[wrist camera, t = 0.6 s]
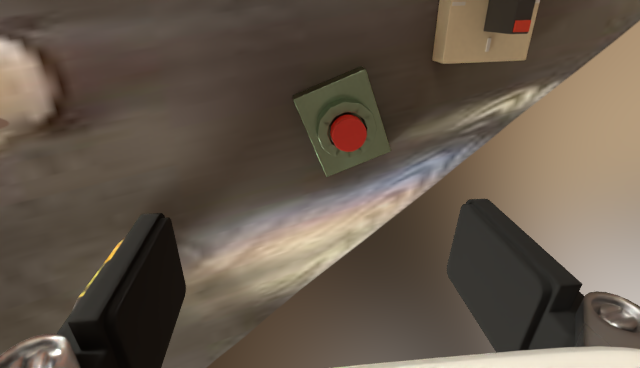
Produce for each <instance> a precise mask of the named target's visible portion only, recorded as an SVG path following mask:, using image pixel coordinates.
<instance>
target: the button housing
mask: <svg viewBox="0 0 640 368" xmlns="http://www.w3.org/2000/svg"><path fill="white" fill-rule="evenodd" d="M293 101H294V103H295V105H296V108H297V110H298V112H299V115H300V117H301V119H302V122H303V124H304V126H305V128H306V131H307V133H308V135H309V138H310V140H311V142H312V145H313V147H314V149H315V152H316V154H317V156H318V158H319V161H320V163H321V165H322V168H323V170H324V172H325V175H326V177H328V176H331V175H333V174H336V173H338V172H341V171H343V170H346V169H348V168H351V167H353V166H356V165H358V164H361V163H363V162H366V161H368V160H371V159H373V158H375V157H378V156H380V155H383V154H385V153H388V152H390V151H391V149H390V146H389V142H388V139H387V136H386V133H385V129H384V126H383V123H382V120H381V117H380V113H379V110H378V107H377V104H376V100H375V97H374V94H373V91H372V88H371V84H370V81H369V78H368V75H367V71H366V69H365V68H363V67H362V66H361V67H358V68H356V69H353V70H351V71H349V72H346V73H344V74H342V75H339V76H337V77H335V78H332V79H330V80H328V81H325V82H323V83H321V84H318V85H316V86H314V87H311V88H309V89H307V90H304V91H302V92H299V93H297V94H295V95H293ZM346 114H351V115H354V116H356V117H358V118H359V119H360V120H361V121H362V123H363V124H364V126H365V127H366V131H367V137H366V140H365V142H364V144H363V145H362V146H361V147H360V148H359V149H357V150H355V151H351V152H345V151H342V150H340V149H338V148H337V147H336V146H335V144H334V142H333V140H332V138H331V134H330V130H331V126H332V124H333V122H334V121H335V120H336V119H337V118H338V117H340V116H342V115H346Z"/></svg>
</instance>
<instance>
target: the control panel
mask: <svg viewBox="0 0 640 368" xmlns="http://www.w3.org/2000/svg"><path fill="white" fill-rule="evenodd" d="M488 3H489V0H439V8H438V17H437V25H436V33H435V41H434V49H433V57H432V60H433V61H436V62H439V63H442V64H451V63H474V62H497V61H520V60H526V56H527V52H528V48H529V44H530V39H531V35H532V31H533V27H534V23H535V19H536V15H537V11H538V7H539V3H540V0H536V1H535V6H534V10H533V14H532V18H531V24H530V29H529V32H528V33H527V34H504V33H495V32H486V31H483V30H484V25H485V19H486V14H487V9H488Z"/></svg>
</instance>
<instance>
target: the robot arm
mask: <svg viewBox="0 0 640 368" xmlns="http://www.w3.org/2000/svg"><path fill="white" fill-rule="evenodd" d="M447 274H448V277H449V279H450V280H451V282H452V283H453V285H454V286H455V288H456V290H457V291H458V293H459V294H460V296H461V297H462V299H463V301H464V302H465V304H466V305H467V307H468V309H469V310H470V312H471V313H472V315H473V316H474V318H475V320H476V321H477V323H478V324H479V326H480V327H481V329H482V331H483V332H484V334H485V335H486V337H487V338H488V340H489V341H490V343H491V345H492V346H493V348H494V349H495V351H496V353H488V354H476V355H464V356H452V357H442V358H430V359H419V360H408V361H397V362H387V363H376V364H366V365H355V366H344V367H334V368H640V306H638V305H636V304H634V303H632V302H631V301H629V300H627V299H625V298H622V297H620V296H618V295H614V294H610V293H607V292H590V293H588V294H587V295H585V296H583V295H582V294H581V293H580V292H579V290H580V288H581V286H582V283H580V282H579V281H578V280H577V279H576V278H575V277H574V276H573V275H572V274H570V273H569V272H568V271H567V270H566V269H565V268H564V267H563V266H562V265H560V264H559V263H558V262H557V261H556V260H555V259H554V258H553V257H552V256H550V255H549V254H548V253H547V252H546V251H545V250H544V249H542V247H541V246H539V245H538V244H537V243H536V242H535V241H534V240H533V239H532V238H531V237H529V236H528V235H527V234H526V233H525V232H524V231H523V230H521V228H519V227H518V226H517V225H516V224H515V223H514V222H513V221H512V220H510V219H509V218H508V217H507V216H506V215H505V214H504V213H503V212H502V211H500V210H499V209H498V208H497V207H496V206H495V205H494V204H493V203H491V202H490V201H489V200H488V199H472V200H468V201H467V202H466V204H463V205H462V207H461V210H460V214H459V218H458V223H457V227H456V231H455V235H454V239H453V243H452V248H451V252H450V257H449V260H448V265H447ZM185 292H186V285H185V280H184V275H183V271H182V267H181V262H180V258H179V253H178V249H177V244H176V240H175V235H174V231H173V227H172V222H171V219H170V218H165V216H164V215H163V214H162V213H157V214H142V215H141V216H140V217H139V218H138V220H137V221H136V222H135V224H134V225H133V227H132V228H131V230H130V231H129V233H128V234H127V236H126V237H125V239H124V240H123V242H122V243H121V245H120V246H119V248H118V249H117V250H116V252H115V253H114V255H113V256H112V258H111V259H110V260H108V261H107V262H106V263H105V264H104V266H103V267H102V269H101V270H100V272H99V273H98V275H97V276H96V277H95V279H94V280H93V282H92V283H91V285H90V286H89V288H88V289H87V290H86V292H85V293H84V295H83V296H82V298H81V299H80V301H79V302H78V304H77V305H76V306H75V308H74V309H73V311H72V312H71V314H70V315H69V317H68V318H67V319H66V321H65V322H64V324H63V325H62V327H61V328H60V330H59V331H58V333H57V334H43V335H39V336H35V337H32V338H30V339H27V340H25V341H22V342H20V343H19V344H17V345H15V346H13V347H12V348H10V349H8V350H7V351H6V352H4V353H3V354H2V355H1V356H0V368H161V366H162V363H163V360H164V357H165V354H166V351H167V348H168V345H169V342H170V339H171V336H172V333H173V330H174V327H175V324H176V321H177V318H178V315H179V312H180V309H181V306H182V303H183V300H184V297H185Z"/></svg>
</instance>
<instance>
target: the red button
mask: <svg viewBox="0 0 640 368" xmlns="http://www.w3.org/2000/svg"><path fill="white" fill-rule="evenodd" d="M330 134H331V138H332V140H333V142H334V144H335V146H336V147H337V148H338V149H340V150H342V151H345V152H351V151H355V150H357V149H359V148H360V147H361V146H362V145H363V144H364V142H365V140H366V137H367V131H366V127H365V126H364V124H363V123H362V121H361V120H360V119H359V118H358V117H356V116H354V115H351V114H346V115H342V116H340V117H338V118H337V119H336V120H335V121H334V122H333V124H332V126H331V130H330Z"/></svg>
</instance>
